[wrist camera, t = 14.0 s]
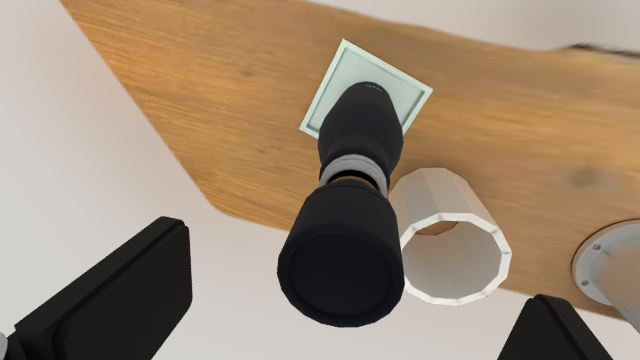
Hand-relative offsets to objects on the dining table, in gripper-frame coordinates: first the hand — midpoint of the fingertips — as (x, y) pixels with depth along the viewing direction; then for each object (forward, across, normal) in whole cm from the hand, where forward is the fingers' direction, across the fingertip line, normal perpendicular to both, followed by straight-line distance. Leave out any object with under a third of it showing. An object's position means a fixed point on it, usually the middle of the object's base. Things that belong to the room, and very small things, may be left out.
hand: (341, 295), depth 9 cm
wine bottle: (+31, +1, 0) cm, 31 cm away
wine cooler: (+32, -10, +11) cm, 35 cm away
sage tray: (+32, +1, 0) cm, 32 cm away
